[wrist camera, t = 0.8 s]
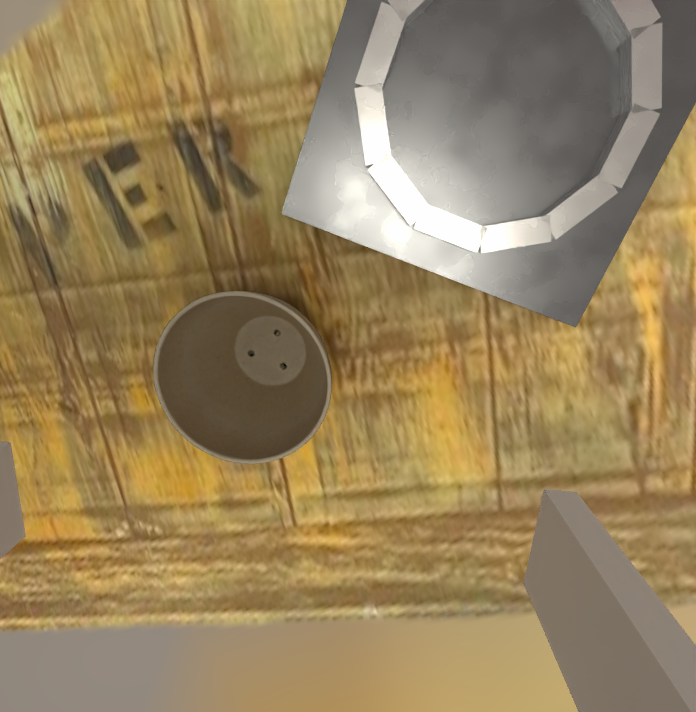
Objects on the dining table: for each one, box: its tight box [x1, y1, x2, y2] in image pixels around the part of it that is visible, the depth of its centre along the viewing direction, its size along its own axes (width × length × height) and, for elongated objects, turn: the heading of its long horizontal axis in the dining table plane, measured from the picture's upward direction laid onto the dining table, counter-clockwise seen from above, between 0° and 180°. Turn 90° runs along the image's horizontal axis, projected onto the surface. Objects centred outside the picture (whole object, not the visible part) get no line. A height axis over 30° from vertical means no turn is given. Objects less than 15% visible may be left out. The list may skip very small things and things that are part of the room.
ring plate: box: [281, 0, 696, 327], centre depth 25 cm, size 20×20×2 cm
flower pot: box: [153, 291, 332, 464], centre depth 28 cm, size 10×10×7 cm
